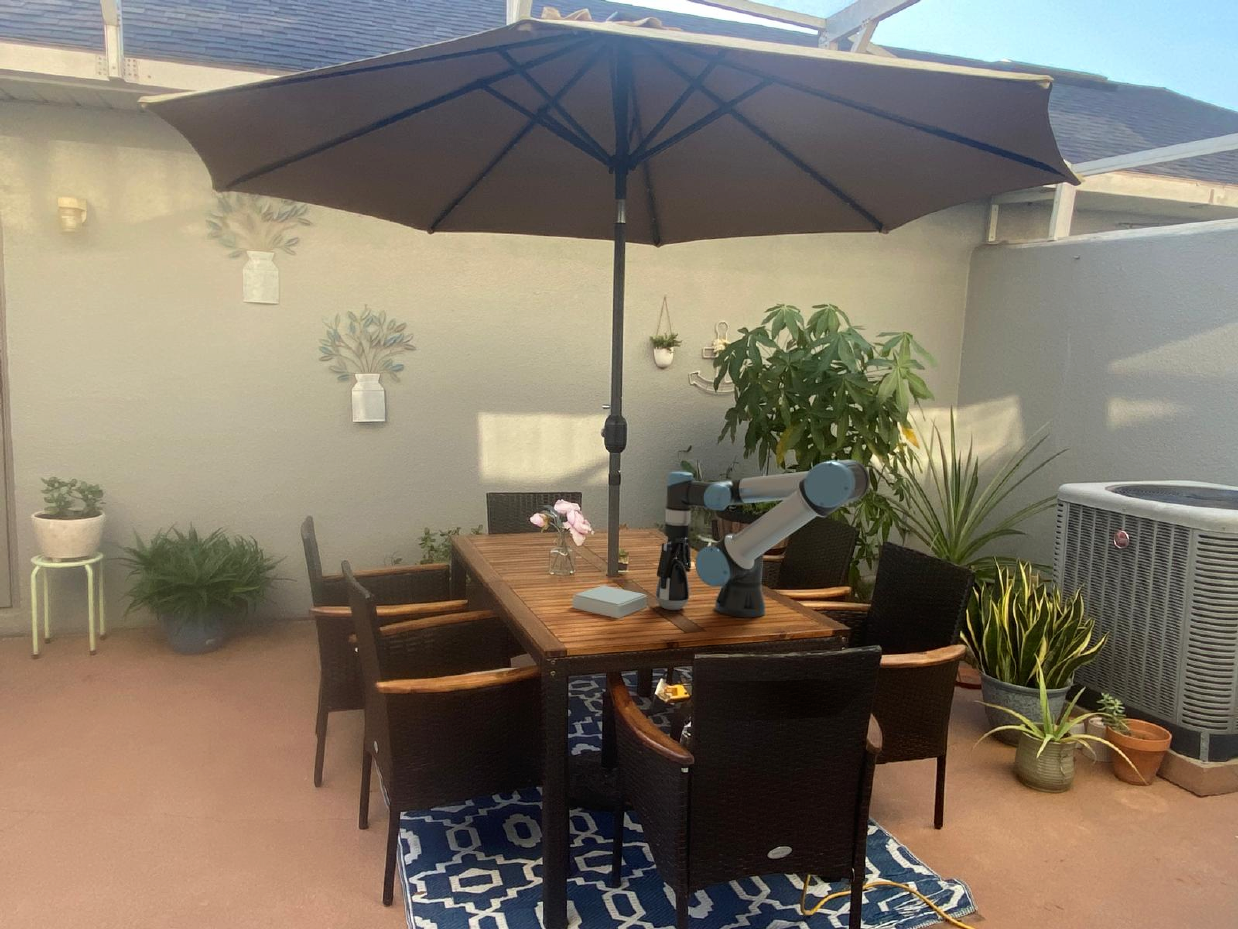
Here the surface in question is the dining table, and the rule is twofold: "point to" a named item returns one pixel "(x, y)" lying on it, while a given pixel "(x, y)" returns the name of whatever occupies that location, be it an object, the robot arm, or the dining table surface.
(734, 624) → the dining table surface
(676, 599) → the black grey egg speaker
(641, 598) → the plinth
